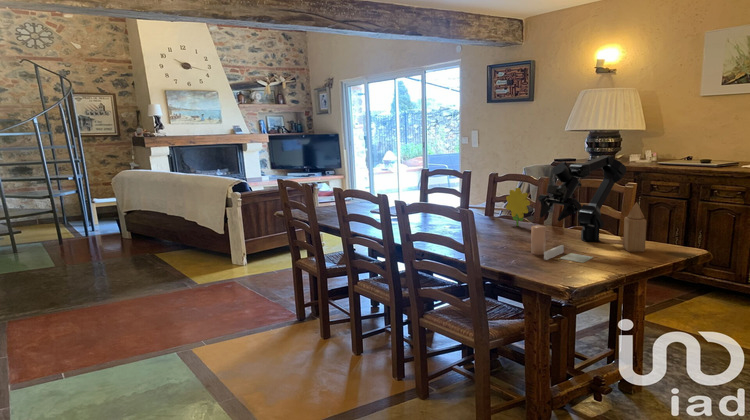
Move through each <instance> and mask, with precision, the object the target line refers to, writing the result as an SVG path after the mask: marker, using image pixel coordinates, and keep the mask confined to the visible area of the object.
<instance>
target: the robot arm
mask: <svg viewBox="0 0 750 420" xmlns="http://www.w3.org/2000/svg"><path fill="white" fill-rule="evenodd" d="M625 165H626V164H623V163H622V162H621V161H619V160H618V159H615V158H614V157H613V156H612V155H600V156H599V157H596V158H594V159H591V160H589V161H588V160H587V161H586V162H581V163H571V164H570V165H568V164H567V162H566V161H561V162H560V163H559V164H557V165H555V166H554V167H553V168H552V174H553V175H554V176H555V178H556V179H557V180H558V182H560V183H561V184H560V185H556V184H555V185H554V184H553V185H552V184H548V185H547V189H546V193H548V195H547V194H539V195H538V197H537V200H538V202H539V203H540V206H541V207H540V214H539V218H541V219H542V218H543V217H544V216H546V215H547V213H548V212H549V211H550V210H551V209H552V208H551V207H553V206H554V205H558V206H559V205H560V206H563V208H562V210H561V212H560V214H559V215H558V218H557V221H558V222H561V221H562V220H564V219H565V218H567V217H569V216H571V215H573V214H574V213H577V212H578V215H577V220H578V224H579V226H580V227H582V229H581V230H580V231H581V232H580V239H581V240H582V241H584V242H587V243H588V242H589V243H591V242H594V243H595V242H599V243H600V242H601V240H600V229H602V228H603V227H604V221H603V220H602V219H601V216H602V214H601V213H602V212H601V208H602V207H603V205H604V203H605V202H606V200H607V198H608V196H609V194H610V192H611V191H612V189H613V187H614V185H615V184H616V183H618V182H620V181H621V180H622V179H623V178H624V176H625V175H626V173H627V167H626V166H625ZM599 169H601V170H602V172H603V173H602V174H603V179H602V181H601V183H600V185H599V186H598V188H597V189H596V191H595V193H594V195H593V196H592V198H591V200H590V202H589V203H588V204H583V205H582V204H581V202H580V201H579V200H578V199H577V198H575V194H574V193H575V191H576V189H577V188H581V187H582V186H583V185H582V183H581V182H582V181H581V180H579V179H585V178H587V177H588V176H589V175H591V173H592V172H594V171H596V170H599ZM549 194H550V196H551V197H552V198H551V197H550V196H549Z"/></svg>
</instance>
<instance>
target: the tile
mask: <svg viewBox="0 0 750 420" xmlns="http://www.w3.org/2000/svg"><path fill="white" fill-rule="evenodd" d="M559 259H560V260H563V261H564V260H565V261H571V262H576V263H582V264H584V263H585V262H588V261H590V260H592V259H594V256H589V255H585V254H584V255H583V254H577V253H568V254H566V255H563V256H561V257H560V258H559Z"/></svg>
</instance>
